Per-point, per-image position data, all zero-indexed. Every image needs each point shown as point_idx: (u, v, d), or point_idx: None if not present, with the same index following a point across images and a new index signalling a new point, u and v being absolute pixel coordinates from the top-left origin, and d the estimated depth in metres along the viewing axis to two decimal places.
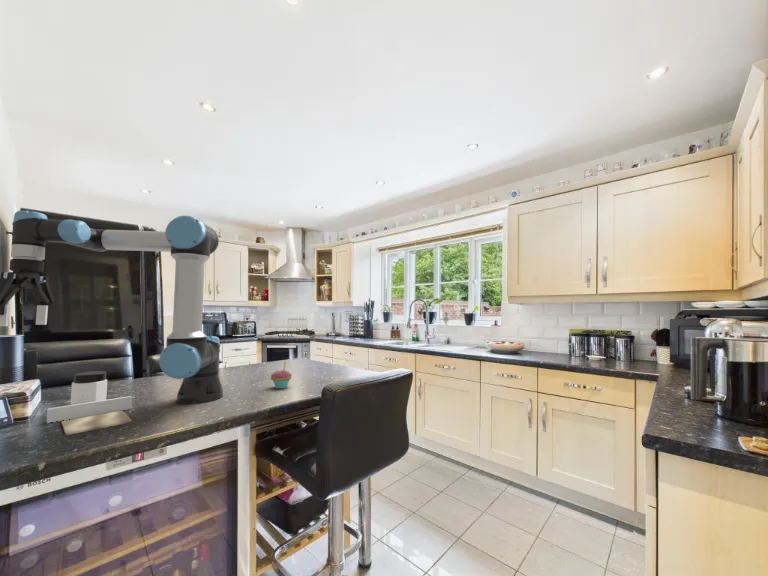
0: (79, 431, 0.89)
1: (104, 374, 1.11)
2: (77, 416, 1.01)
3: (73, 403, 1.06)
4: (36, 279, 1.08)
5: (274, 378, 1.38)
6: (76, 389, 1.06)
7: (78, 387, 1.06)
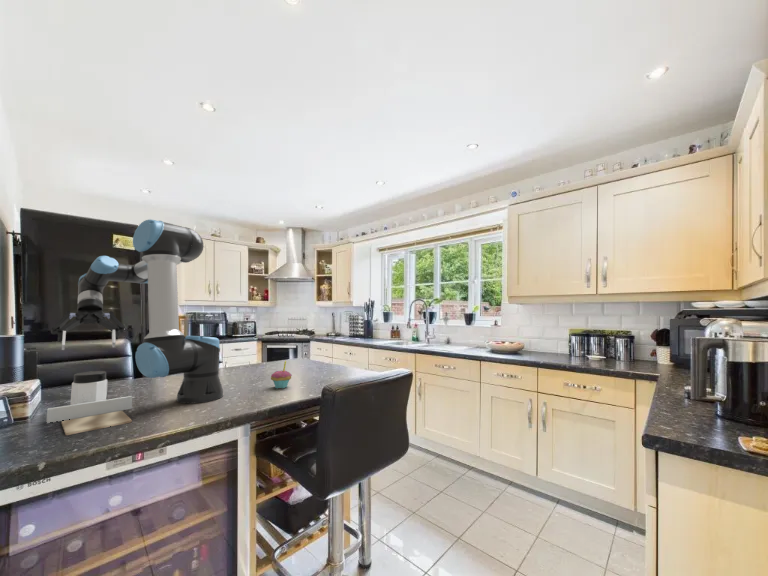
0: (79, 431, 0.89)
1: (104, 374, 1.11)
2: (77, 416, 1.01)
3: (73, 403, 1.06)
4: (94, 312, 1.27)
5: (274, 378, 1.38)
6: (76, 389, 1.06)
7: (78, 387, 1.06)
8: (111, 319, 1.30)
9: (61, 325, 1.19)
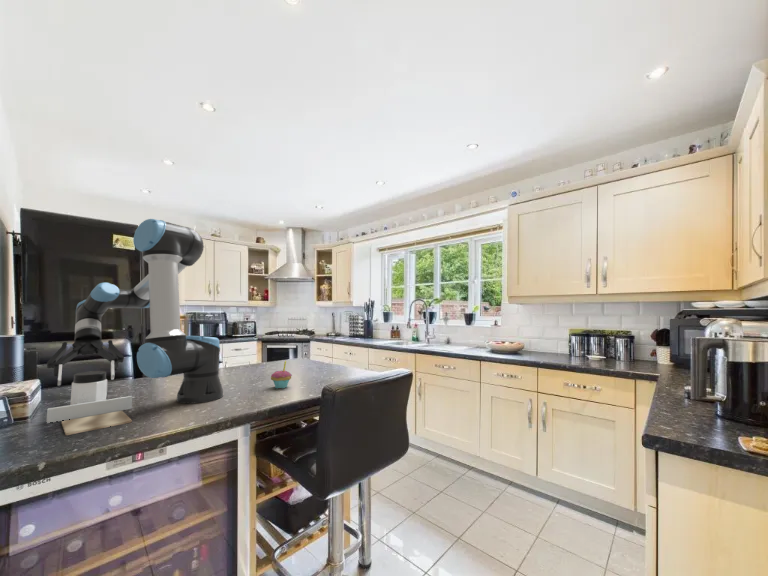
0: (79, 431, 0.89)
1: (104, 374, 1.11)
2: (77, 416, 1.01)
3: (73, 403, 1.06)
4: (92, 342, 1.21)
5: (274, 378, 1.38)
6: (76, 389, 1.06)
7: (78, 387, 1.06)
8: (110, 349, 1.25)
9: (57, 358, 1.13)
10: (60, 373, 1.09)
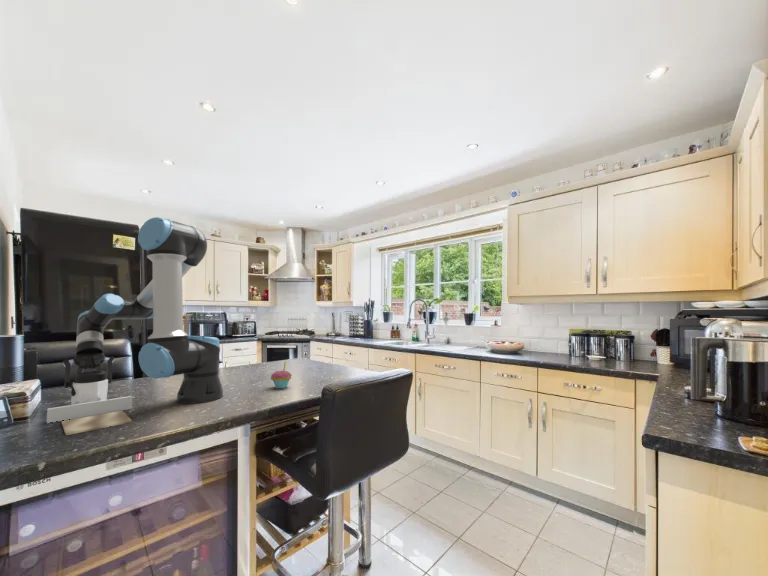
0: (79, 431, 0.89)
1: (105, 374, 1.11)
2: (77, 416, 1.01)
3: (74, 403, 1.06)
4: (94, 356, 1.17)
5: (274, 378, 1.38)
6: (77, 389, 1.06)
7: (79, 387, 1.06)
8: (107, 365, 1.18)
9: (69, 376, 1.10)
10: None
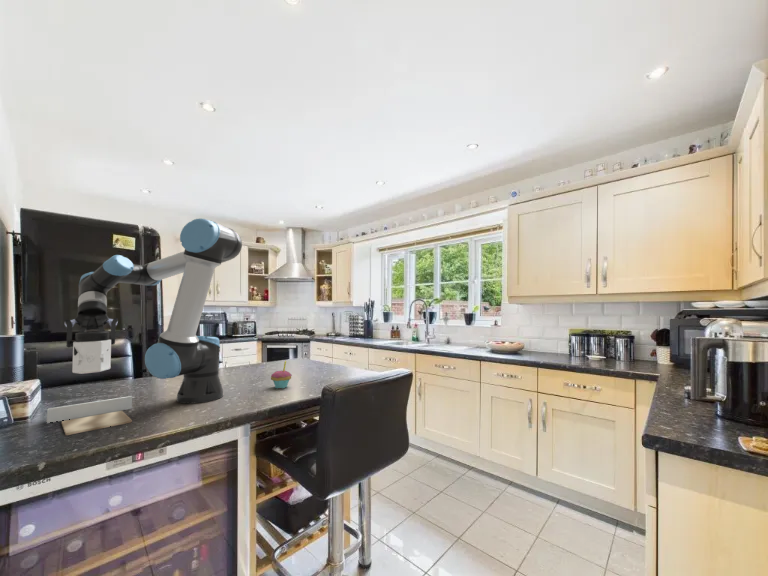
0: (79, 431, 0.89)
1: (108, 333, 1.05)
2: (77, 416, 1.01)
3: (76, 363, 1.00)
4: (97, 316, 1.10)
5: (274, 378, 1.38)
6: (79, 348, 1.00)
7: (81, 346, 0.99)
8: None
9: None
10: None
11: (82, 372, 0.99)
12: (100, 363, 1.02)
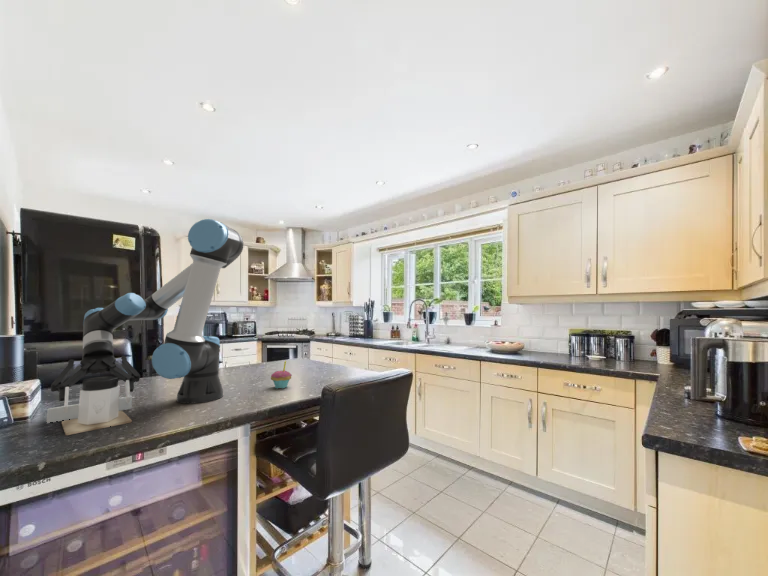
0: (79, 431, 0.89)
1: (117, 380, 0.99)
2: (77, 416, 1.01)
3: (82, 413, 0.94)
4: (104, 359, 1.04)
5: (274, 378, 1.38)
6: (86, 397, 0.93)
7: (89, 395, 0.93)
8: (124, 366, 1.07)
9: (63, 379, 0.96)
10: (67, 398, 0.92)
11: (89, 423, 0.93)
12: (108, 413, 0.96)
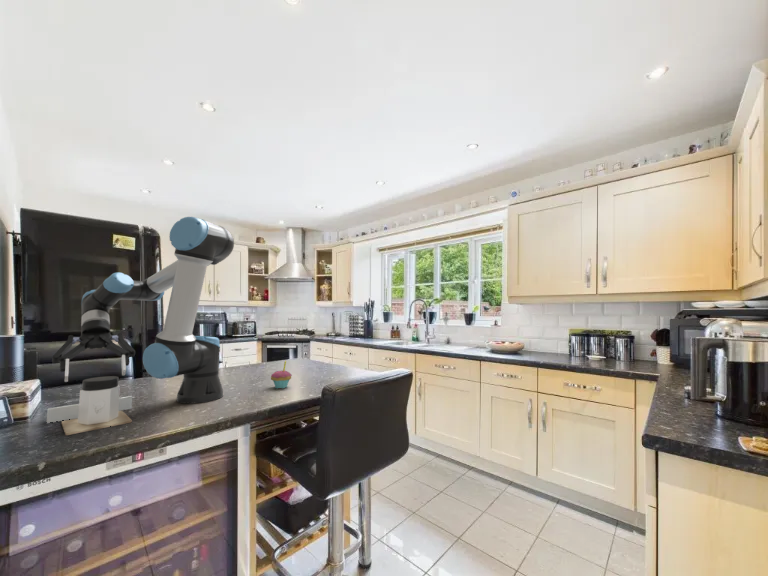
0: (79, 431, 0.89)
1: (117, 380, 0.99)
2: (77, 416, 1.01)
3: (82, 413, 0.94)
4: (101, 335, 1.12)
5: (274, 378, 1.38)
6: (86, 397, 0.93)
7: (89, 395, 0.93)
8: (120, 342, 1.15)
9: (63, 352, 1.03)
10: (67, 368, 1.00)
11: (89, 423, 0.93)
12: (108, 413, 0.96)
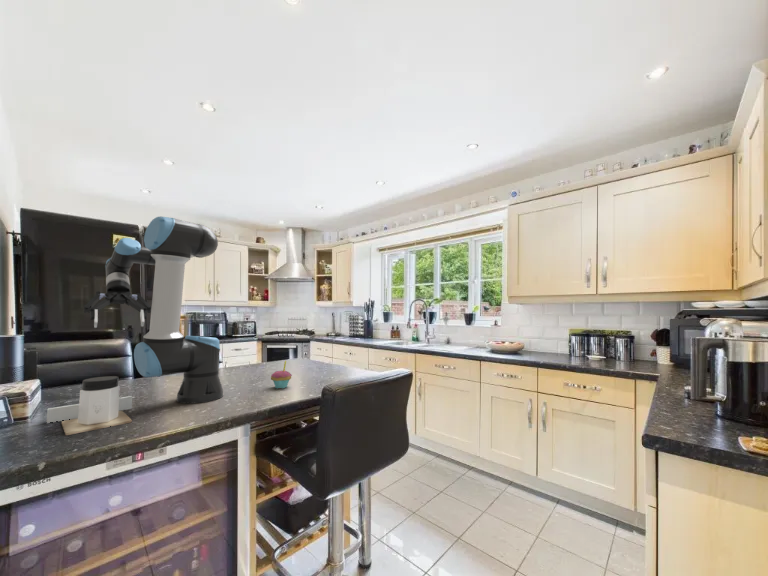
0: (79, 431, 0.89)
1: (117, 380, 0.99)
2: (77, 416, 1.01)
3: (82, 413, 0.94)
4: (123, 293, 1.30)
5: (274, 378, 1.38)
6: (86, 397, 0.93)
7: (89, 395, 0.93)
8: (138, 300, 1.33)
9: (92, 304, 1.22)
10: (96, 316, 1.18)
11: (89, 423, 0.93)
12: (108, 413, 0.96)
